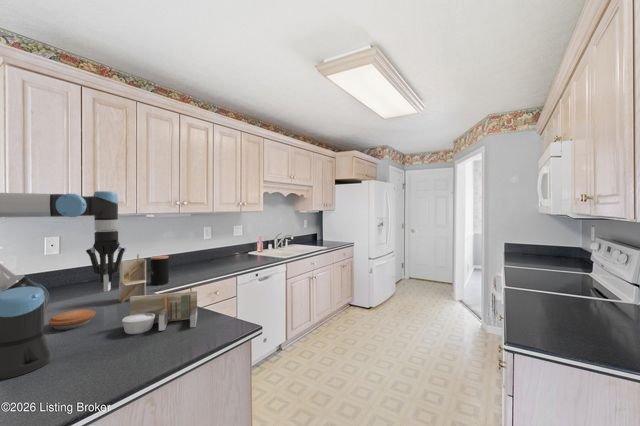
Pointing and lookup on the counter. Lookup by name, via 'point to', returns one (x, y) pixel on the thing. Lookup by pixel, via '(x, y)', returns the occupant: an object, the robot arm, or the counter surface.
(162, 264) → the coffee jar
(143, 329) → the ramekin
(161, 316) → the gauge sled
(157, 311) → the scale board
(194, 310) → the white striped block
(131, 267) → the staircase
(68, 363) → the counter surface
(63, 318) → the pie
